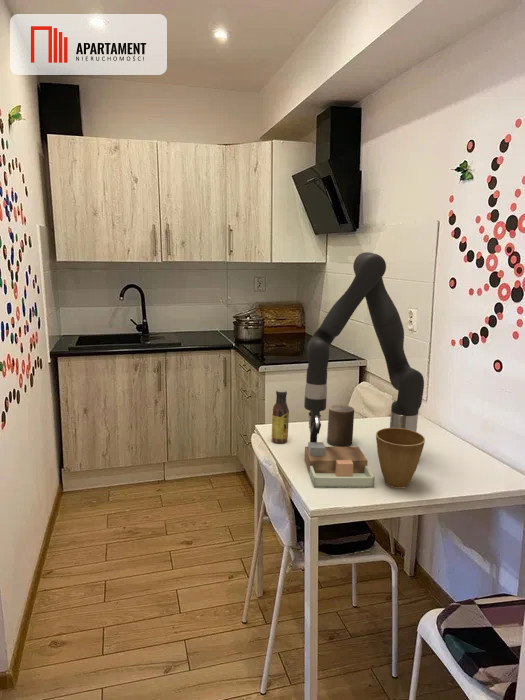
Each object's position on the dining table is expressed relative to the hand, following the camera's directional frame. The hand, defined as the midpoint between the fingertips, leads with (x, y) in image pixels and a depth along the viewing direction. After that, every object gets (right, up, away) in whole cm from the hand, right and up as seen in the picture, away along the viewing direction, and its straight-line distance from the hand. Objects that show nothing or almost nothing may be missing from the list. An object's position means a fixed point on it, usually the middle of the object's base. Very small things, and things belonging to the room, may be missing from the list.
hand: (313, 443), depth 180 cm
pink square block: (+8, -6, -12) cm, 16 cm away
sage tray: (+7, -9, -15) cm, 19 cm away
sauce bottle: (-11, -3, +17) cm, 21 cm away
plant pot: (+25, -10, -16) cm, 31 cm away
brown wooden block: (+7, -7, -5) cm, 11 cm away
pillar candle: (+12, -3, +18) cm, 22 cm away
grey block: (0, -2, -6) cm, 7 cm away
